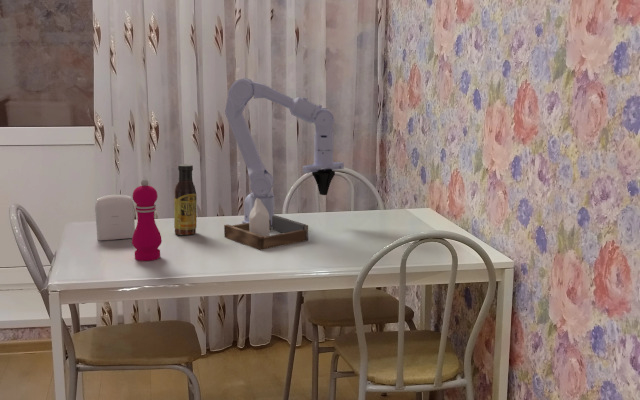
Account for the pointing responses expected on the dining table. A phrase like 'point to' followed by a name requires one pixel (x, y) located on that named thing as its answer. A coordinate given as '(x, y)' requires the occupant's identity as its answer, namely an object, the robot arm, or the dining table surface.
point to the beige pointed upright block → (259, 219)
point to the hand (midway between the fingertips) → (323, 194)
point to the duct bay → (260, 242)
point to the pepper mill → (146, 224)
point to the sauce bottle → (185, 202)
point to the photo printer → (114, 217)
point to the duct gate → (286, 224)
